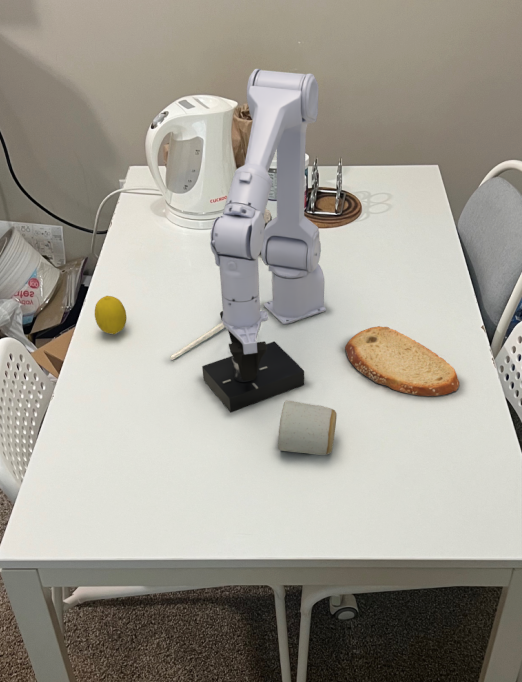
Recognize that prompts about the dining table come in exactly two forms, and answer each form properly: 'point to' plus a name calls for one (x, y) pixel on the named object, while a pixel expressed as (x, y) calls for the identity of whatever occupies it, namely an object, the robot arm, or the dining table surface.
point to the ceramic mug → (306, 428)
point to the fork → (198, 341)
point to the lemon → (110, 315)
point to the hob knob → (237, 371)
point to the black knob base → (271, 379)
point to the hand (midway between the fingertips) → (244, 364)
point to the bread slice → (400, 363)
